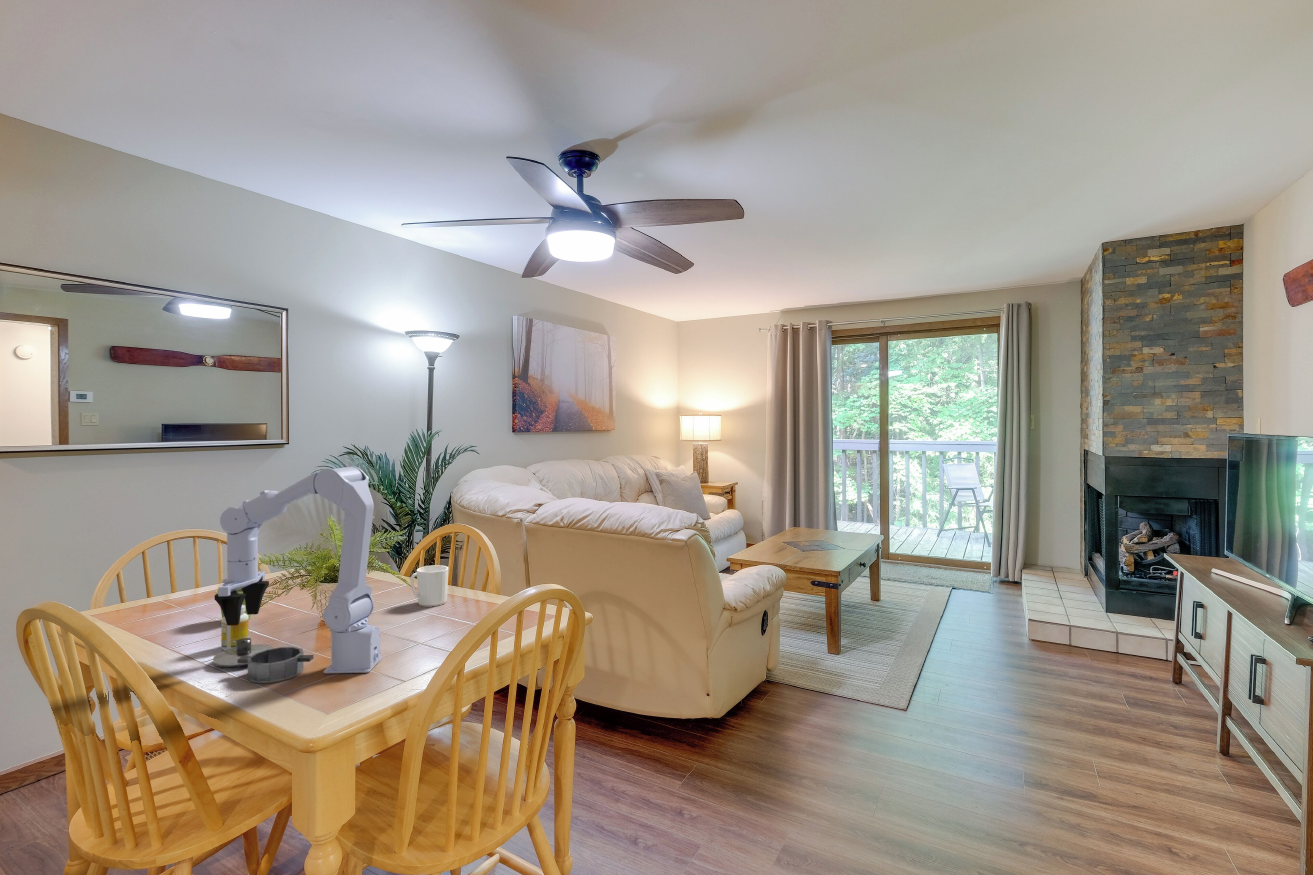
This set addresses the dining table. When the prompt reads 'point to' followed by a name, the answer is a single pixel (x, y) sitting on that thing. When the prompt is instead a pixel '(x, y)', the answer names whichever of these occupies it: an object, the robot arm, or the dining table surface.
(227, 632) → the supplement bottle
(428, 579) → the mug
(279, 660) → the pot
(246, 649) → the lid
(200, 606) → the dining table surface
